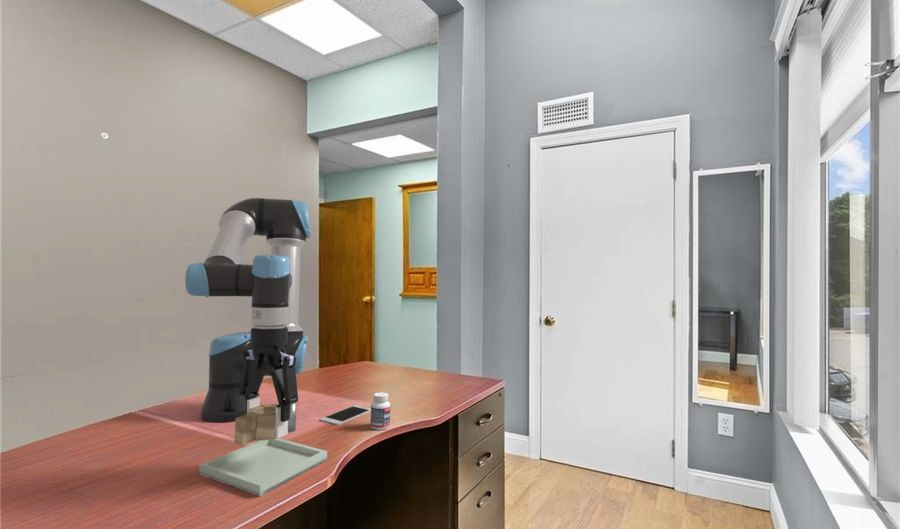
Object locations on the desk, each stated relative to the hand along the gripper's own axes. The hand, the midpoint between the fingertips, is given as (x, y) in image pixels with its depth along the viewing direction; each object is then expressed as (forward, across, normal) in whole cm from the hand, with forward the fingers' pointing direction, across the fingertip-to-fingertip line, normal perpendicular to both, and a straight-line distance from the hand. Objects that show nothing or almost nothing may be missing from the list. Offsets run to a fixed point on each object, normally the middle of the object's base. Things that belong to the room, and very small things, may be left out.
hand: (266, 432), depth 94 cm
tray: (+8, 0, 0) cm, 8 cm away
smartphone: (+8, -7, +35) cm, 37 cm away
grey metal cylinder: (+7, -12, +18) cm, 23 cm away
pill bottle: (+8, +7, +32) cm, 34 cm away
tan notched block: (0, 0, -1) cm, 1 cm away
